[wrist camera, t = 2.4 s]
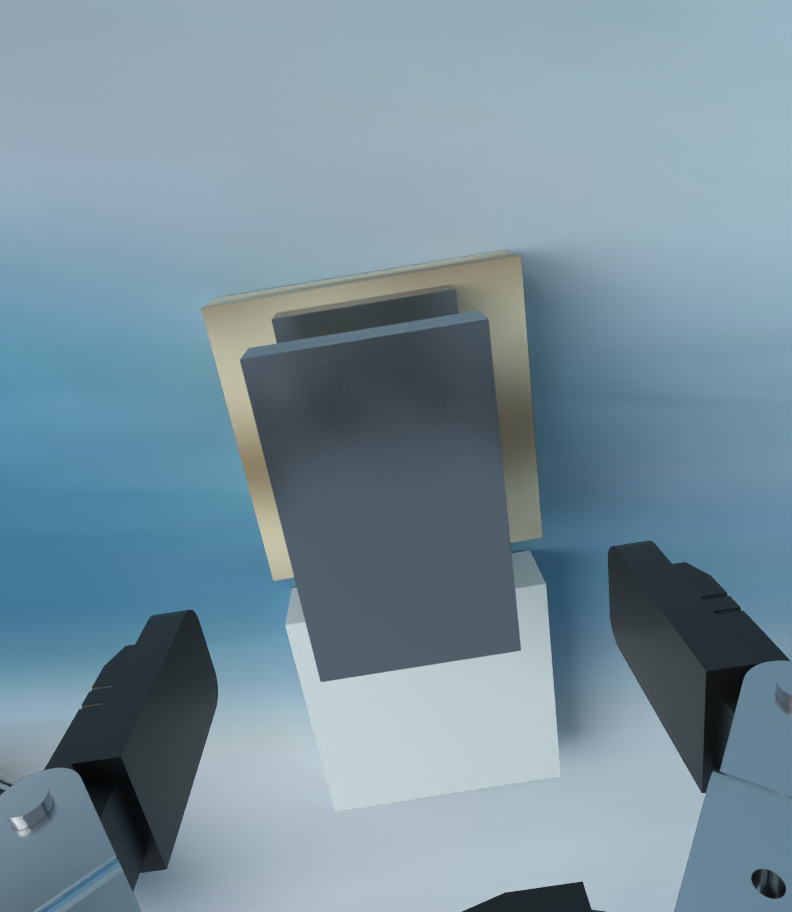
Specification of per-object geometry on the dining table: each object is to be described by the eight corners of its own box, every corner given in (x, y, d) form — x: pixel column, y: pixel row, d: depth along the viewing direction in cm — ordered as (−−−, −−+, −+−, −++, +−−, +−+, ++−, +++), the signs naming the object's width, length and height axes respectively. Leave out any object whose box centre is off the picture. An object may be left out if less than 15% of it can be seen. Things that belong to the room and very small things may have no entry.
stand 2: (292, 588, 26) (285, 625, 24) (529, 550, 26) (546, 583, 24) (337, 764, 30) (334, 811, 28) (545, 732, 30) (560, 776, 28)
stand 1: (218, 297, 22) (201, 308, 20) (504, 250, 22) (520, 255, 20) (281, 546, 26) (273, 580, 23) (526, 507, 26) (542, 537, 23)
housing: (276, 313, 20) (239, 359, 14) (450, 284, 20) (488, 319, 14) (331, 559, 23) (320, 682, 17) (480, 535, 23) (521, 650, 17)
